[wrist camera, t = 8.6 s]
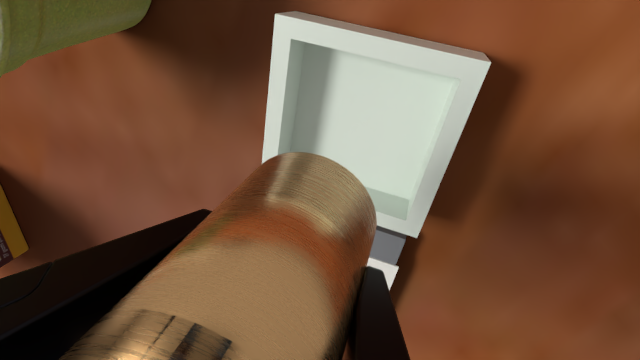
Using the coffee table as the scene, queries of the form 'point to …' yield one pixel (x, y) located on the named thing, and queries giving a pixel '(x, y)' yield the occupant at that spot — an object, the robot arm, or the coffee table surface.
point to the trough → (371, 107)
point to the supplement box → (9, 233)
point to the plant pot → (59, 25)
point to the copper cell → (253, 274)
